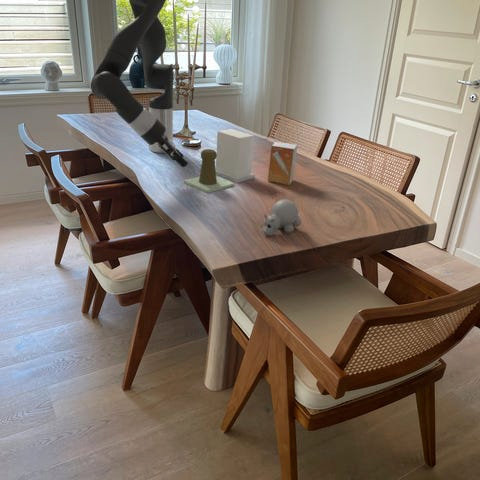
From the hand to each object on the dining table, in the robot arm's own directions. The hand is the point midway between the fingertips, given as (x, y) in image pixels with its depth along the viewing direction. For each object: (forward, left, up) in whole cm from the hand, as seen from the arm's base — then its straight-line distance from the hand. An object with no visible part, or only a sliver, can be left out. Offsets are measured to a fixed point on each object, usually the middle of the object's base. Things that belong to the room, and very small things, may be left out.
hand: (183, 161), depth 149 cm
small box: (+16, +31, -8) cm, 36 cm away
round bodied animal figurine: (+43, -2, -8) cm, 44 cm away
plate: (+4, +8, -8) cm, 12 cm away
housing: (+2, +21, -8) cm, 23 cm away
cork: (+4, +7, -7) cm, 11 cm away
